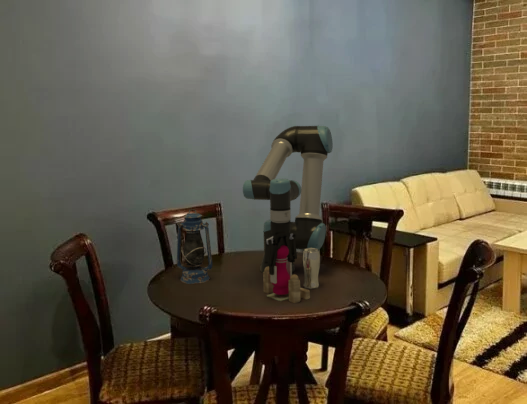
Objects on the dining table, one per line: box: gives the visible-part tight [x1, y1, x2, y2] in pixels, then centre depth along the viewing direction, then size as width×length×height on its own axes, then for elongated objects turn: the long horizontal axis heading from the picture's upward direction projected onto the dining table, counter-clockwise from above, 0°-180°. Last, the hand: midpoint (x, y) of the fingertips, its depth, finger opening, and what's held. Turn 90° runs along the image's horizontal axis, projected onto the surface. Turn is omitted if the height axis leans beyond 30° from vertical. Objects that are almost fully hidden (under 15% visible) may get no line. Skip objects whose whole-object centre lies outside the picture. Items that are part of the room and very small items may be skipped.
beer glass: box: [301, 248, 321, 290], centre depth 219 cm, size 7×7×15 cm
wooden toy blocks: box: [262, 266, 311, 304], centre depth 208 cm, size 18×10×10 cm, turn 40°
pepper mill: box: [272, 245, 290, 295], centre depth 206 cm, size 7×7×20 cm
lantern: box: [176, 208, 213, 285], centre depth 229 cm, size 15×12×30 cm
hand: (281, 280), depth 207 cm, fingers closed on pepper mill, 7 cm apart
